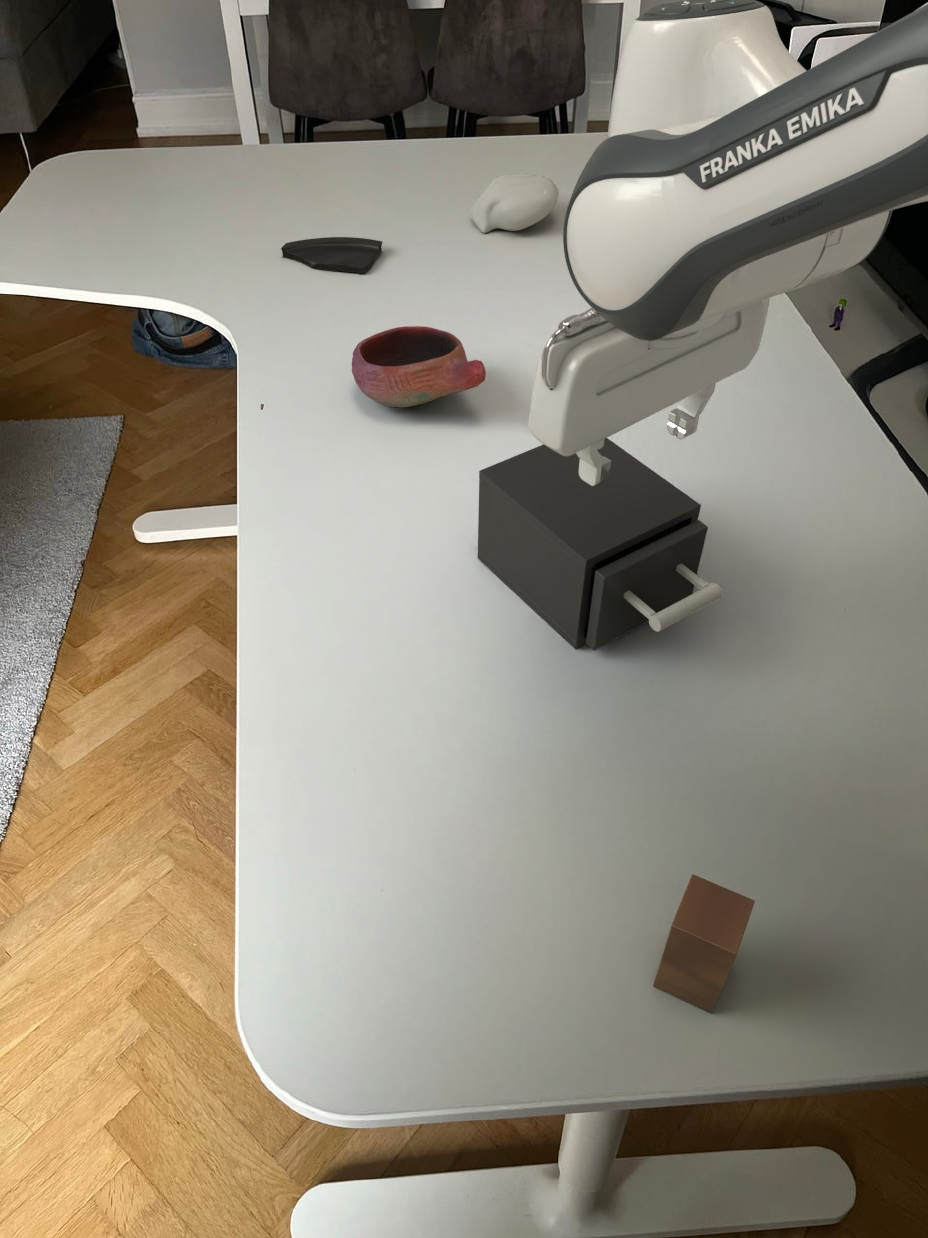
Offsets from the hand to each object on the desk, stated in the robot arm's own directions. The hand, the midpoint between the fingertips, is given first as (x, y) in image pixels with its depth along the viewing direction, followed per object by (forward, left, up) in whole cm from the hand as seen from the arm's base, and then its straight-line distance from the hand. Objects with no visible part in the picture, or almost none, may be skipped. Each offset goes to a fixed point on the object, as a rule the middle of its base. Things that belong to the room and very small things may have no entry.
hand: (638, 455), depth 75 cm
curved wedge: (+63, -53, -19) cm, 84 cm away
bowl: (+34, -26, -19) cm, 46 cm away
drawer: (+1, -4, -18) cm, 19 cm away
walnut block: (-16, +27, -19) cm, 37 cm away
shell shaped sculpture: (+46, -76, -19) cm, 90 cm away
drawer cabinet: (+6, -6, -19) cm, 21 cm away
